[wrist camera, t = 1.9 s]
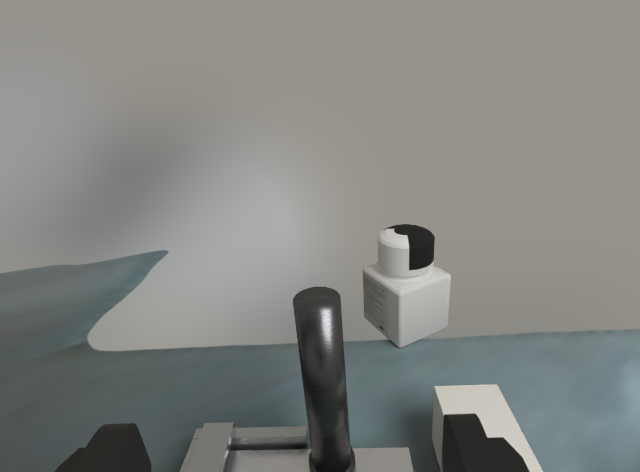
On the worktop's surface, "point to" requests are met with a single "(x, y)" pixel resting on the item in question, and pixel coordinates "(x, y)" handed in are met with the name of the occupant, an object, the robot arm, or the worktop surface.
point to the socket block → (480, 417)
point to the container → (406, 286)
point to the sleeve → (238, 443)
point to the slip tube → (322, 402)
